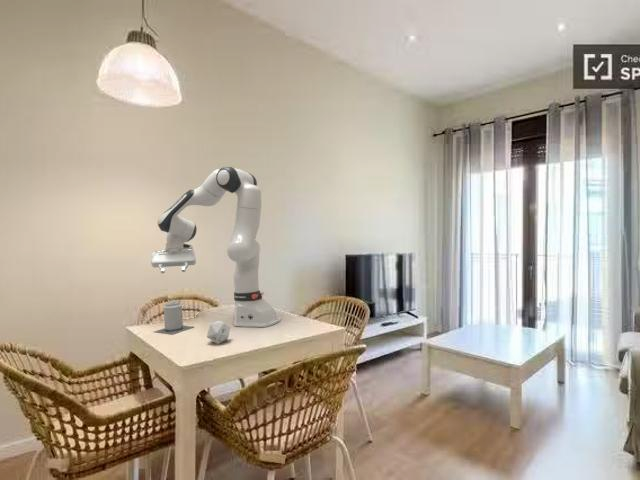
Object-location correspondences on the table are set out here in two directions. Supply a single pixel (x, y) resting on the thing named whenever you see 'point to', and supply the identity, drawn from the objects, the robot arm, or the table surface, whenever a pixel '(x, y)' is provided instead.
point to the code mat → (173, 331)
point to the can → (173, 316)
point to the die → (218, 332)
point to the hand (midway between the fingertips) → (173, 271)
